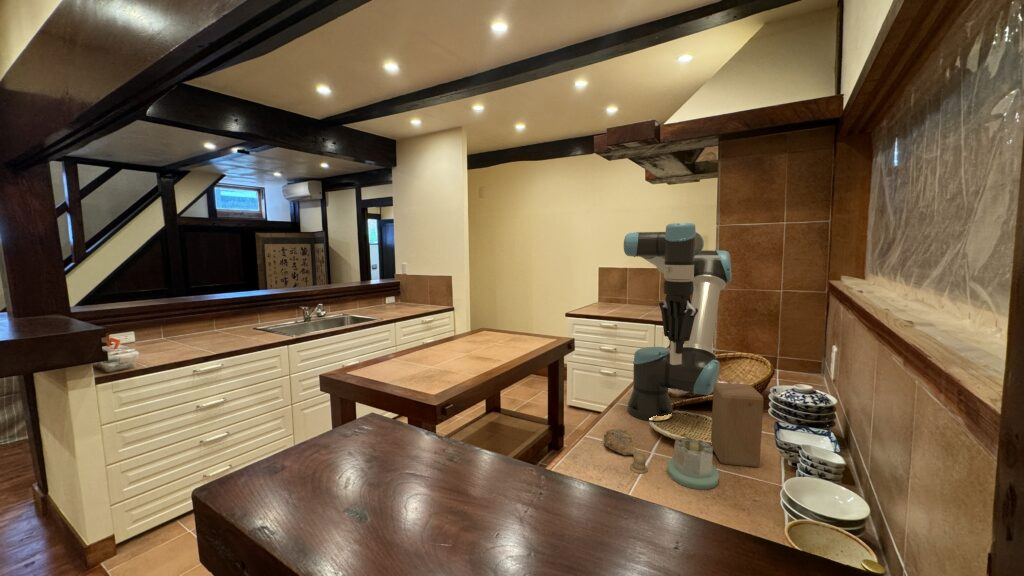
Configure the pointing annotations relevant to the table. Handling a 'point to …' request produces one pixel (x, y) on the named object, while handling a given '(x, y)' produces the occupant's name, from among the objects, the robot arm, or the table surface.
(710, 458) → the collar ring
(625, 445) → the rock
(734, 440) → the wooden block
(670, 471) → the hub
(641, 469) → the stand
